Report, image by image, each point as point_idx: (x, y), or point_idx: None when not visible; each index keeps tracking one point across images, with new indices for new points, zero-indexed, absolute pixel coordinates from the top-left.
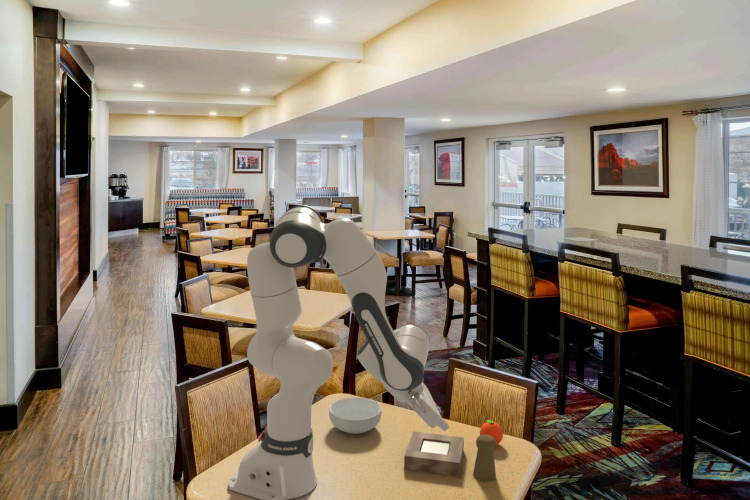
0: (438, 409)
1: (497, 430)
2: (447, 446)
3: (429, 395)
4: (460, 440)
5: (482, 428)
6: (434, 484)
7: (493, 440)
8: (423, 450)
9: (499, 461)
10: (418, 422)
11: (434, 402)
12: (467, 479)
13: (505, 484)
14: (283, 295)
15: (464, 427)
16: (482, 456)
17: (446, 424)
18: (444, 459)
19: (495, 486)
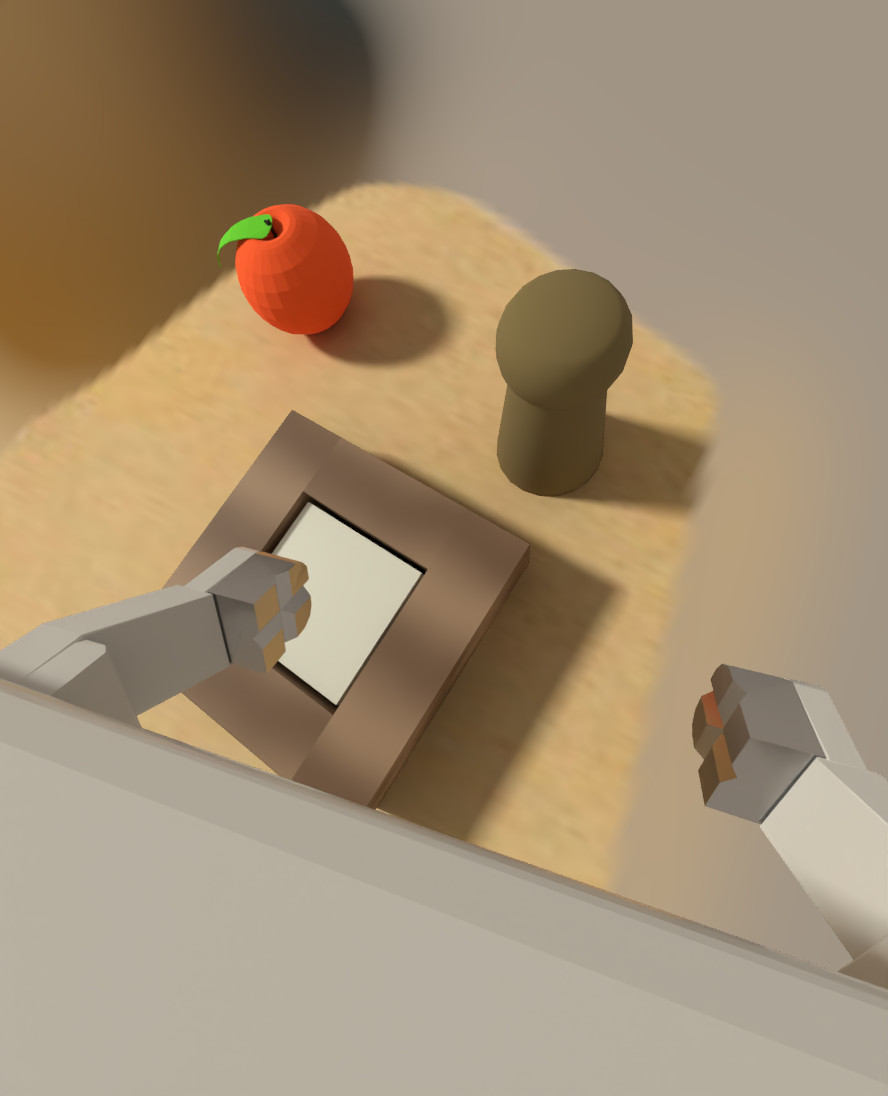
0: (277, 591)
1: (324, 233)
2: (331, 525)
3: (43, 899)
4: (311, 438)
5: (271, 291)
6: (556, 713)
7: (609, 283)
8: (321, 674)
9: (457, 338)
10: (20, 531)
11: (148, 611)
12: (557, 534)
13: (641, 392)
14: None
15: (152, 357)
16: (591, 414)
17: (841, 732)
18: (468, 611)
19: (647, 440)
